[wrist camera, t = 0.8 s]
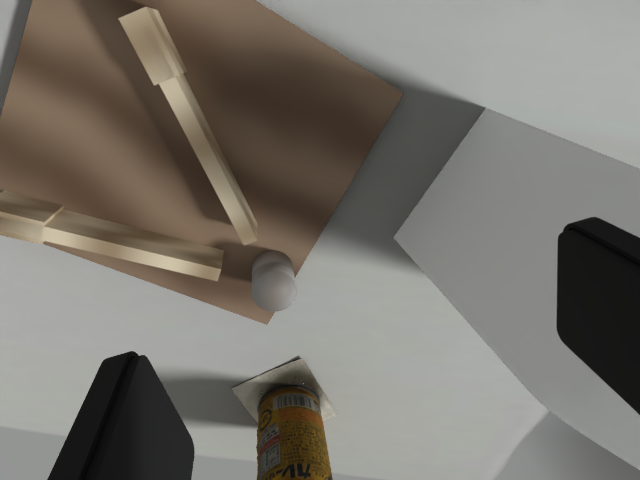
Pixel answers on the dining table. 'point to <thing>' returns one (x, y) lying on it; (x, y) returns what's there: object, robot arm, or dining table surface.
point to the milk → (525, 258)
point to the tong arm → (188, 112)
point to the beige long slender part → (141, 246)
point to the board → (171, 141)
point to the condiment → (289, 423)
